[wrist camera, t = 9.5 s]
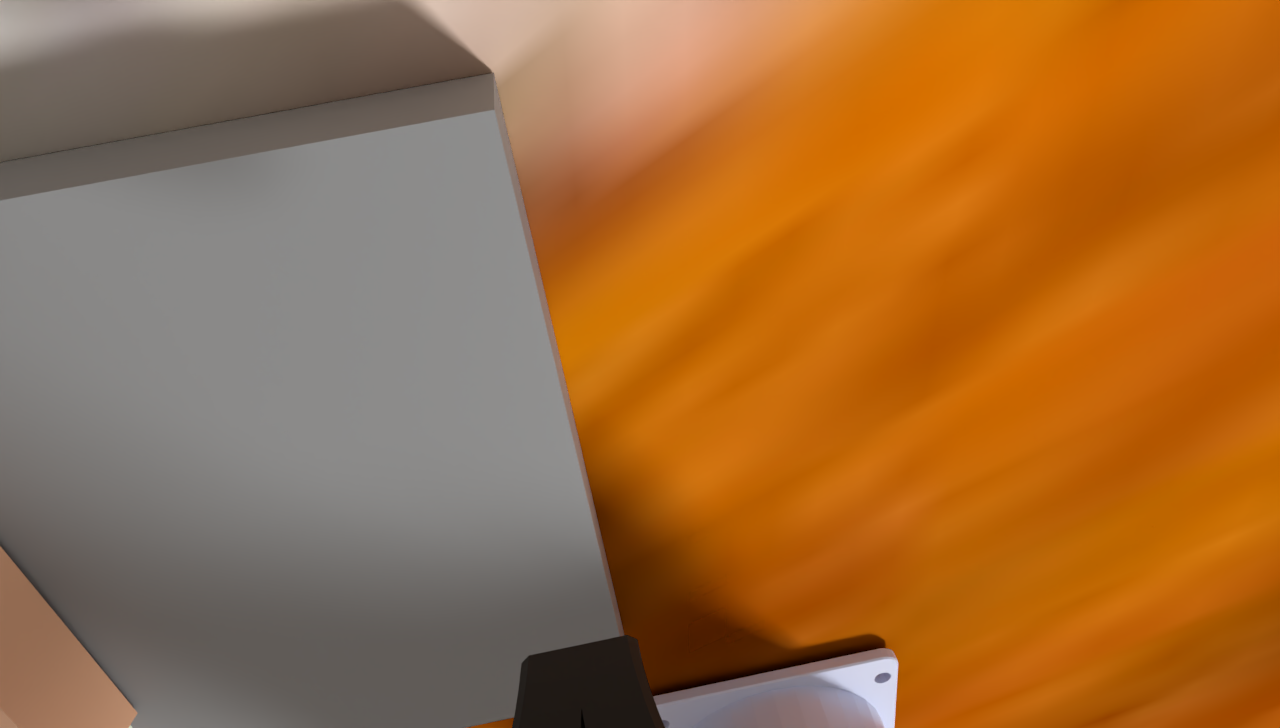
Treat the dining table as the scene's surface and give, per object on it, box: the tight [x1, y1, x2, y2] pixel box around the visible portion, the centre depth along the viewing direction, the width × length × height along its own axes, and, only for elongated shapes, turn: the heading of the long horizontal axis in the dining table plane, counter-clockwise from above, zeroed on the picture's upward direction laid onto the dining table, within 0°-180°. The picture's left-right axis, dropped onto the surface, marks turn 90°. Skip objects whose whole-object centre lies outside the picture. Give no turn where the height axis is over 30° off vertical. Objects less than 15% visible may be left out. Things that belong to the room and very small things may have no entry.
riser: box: [0, 73, 624, 728], centre depth 19 cm, size 16×12×2 cm
